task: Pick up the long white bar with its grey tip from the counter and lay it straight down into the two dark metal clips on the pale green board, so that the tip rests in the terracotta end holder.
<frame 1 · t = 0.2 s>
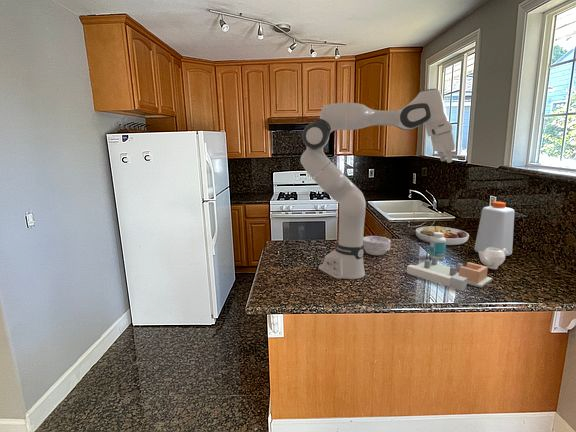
hand: (446, 161, 140), 51 cm above the countertop, tool tilted 20°, fingers open, 8 cm apart
pill bottle: (436, 258, 178), on the countertop
plastic bottle: (492, 253, 186), on the countertop
teapot: (491, 267, 165), on the countertop
cable board: (451, 273, 157), on the countertop
paper bowls: (375, 253, 186), on the countertop
white long bar: (429, 278, 151), on the countertop
bowl: (440, 240, 212), on the countertop
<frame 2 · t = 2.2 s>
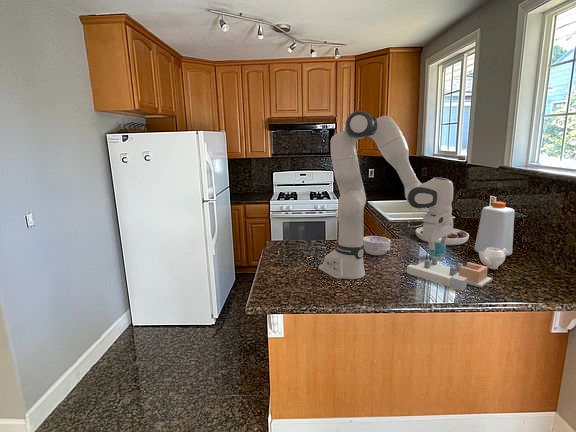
hand: (437, 247, 147), 15 cm above the countertop, tool pointing down, fingers open, 8 cm apart
nothing on the countertop moved.
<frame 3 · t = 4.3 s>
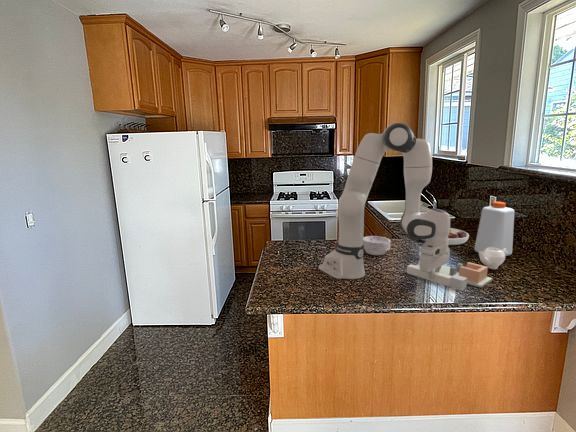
hand: (433, 276, 149), 2 cm above the countertop, tool pointing down, fingers closed on white long bar, 3 cm apart
white long bar: (429, 278, 151), on the countertop, touching gripper
everything else where it was.
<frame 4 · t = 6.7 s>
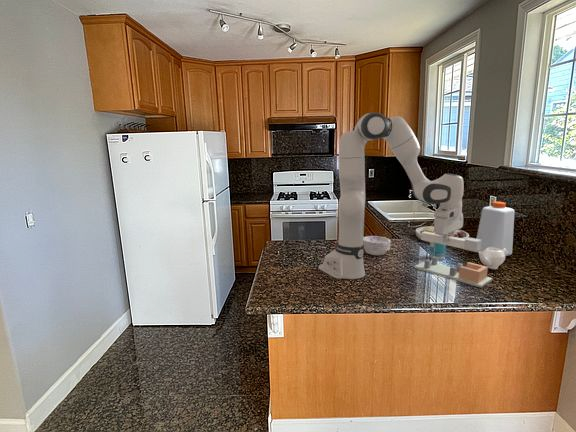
hand: (448, 240, 153), 16 cm above the countertop, tool pointing down, fingers closed on white long bar, 3 cm apart
white long bar: (443, 243, 155), point 14 cm above the countertop, touching gripper
everything else where it was.
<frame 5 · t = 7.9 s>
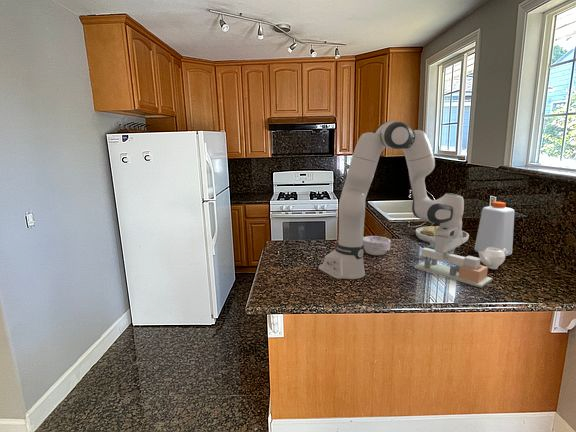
hand: (447, 258, 157), 7 cm above the countertop, tool pointing down, fingers closed on white long bar, 3 cm apart
white long bar: (443, 260, 159), point 5 cm above the countertop, touching gripper
everything else where it was.
when the fingers open (3 cm above the countertop, at t = 8.9 s): white long bar stays where it is, resting on cable board.
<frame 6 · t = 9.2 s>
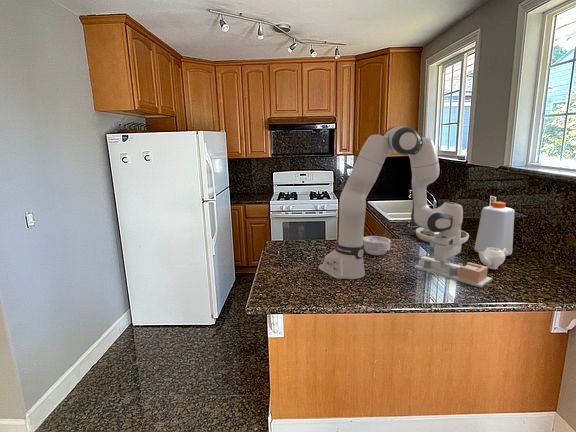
hand: (446, 266, 158), 3 cm above the countertop, tool pointing down, fingers open, 6 cm apart
white long bar: (441, 269, 160), point 1 cm above the countertop, touching cable board
everything else where it was.
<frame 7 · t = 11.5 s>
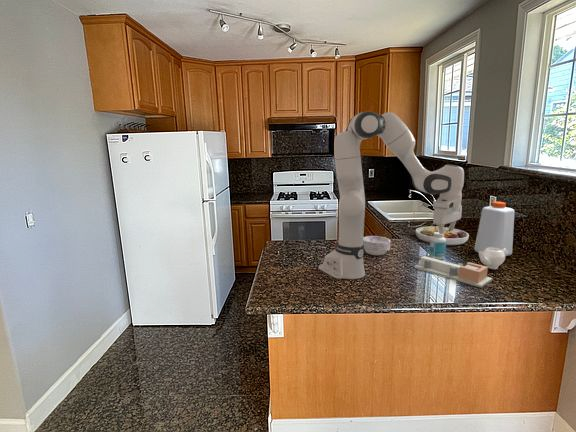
hand: (446, 231, 154), 20 cm above the countertop, tool pointing down, fingers open, 8 cm apart
nothing on the countertop moved.
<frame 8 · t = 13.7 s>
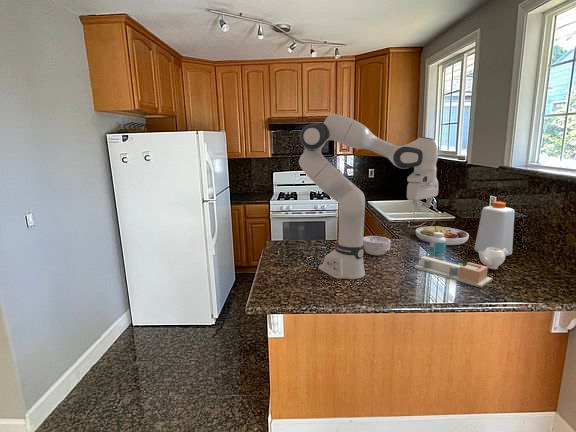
hand: (422, 208, 147), 31 cm above the countertop, tool pointing down, fingers open, 8 cm apart
nothing on the countertop moved.
at the end: white long bar 0.1 cm from the target spot on the cable board, point 1.0 cm above the cable board's base; white long bar tilted 0°; the gripper is holding nothing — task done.
